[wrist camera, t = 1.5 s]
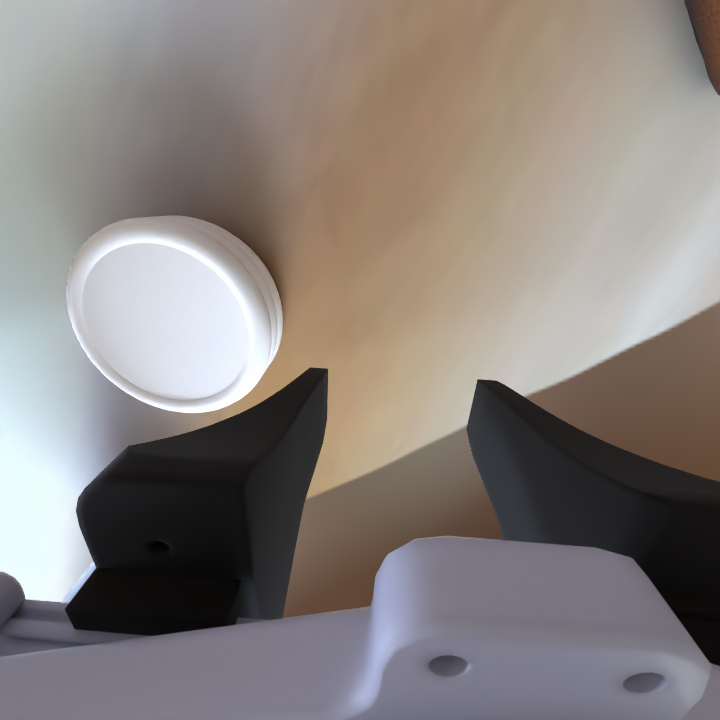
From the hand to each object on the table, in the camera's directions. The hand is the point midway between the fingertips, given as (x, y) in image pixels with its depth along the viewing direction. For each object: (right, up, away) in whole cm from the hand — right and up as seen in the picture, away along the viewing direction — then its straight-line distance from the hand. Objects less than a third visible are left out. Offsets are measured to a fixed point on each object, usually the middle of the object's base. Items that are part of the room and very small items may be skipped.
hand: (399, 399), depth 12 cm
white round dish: (-11, +4, +8) cm, 14 cm away
